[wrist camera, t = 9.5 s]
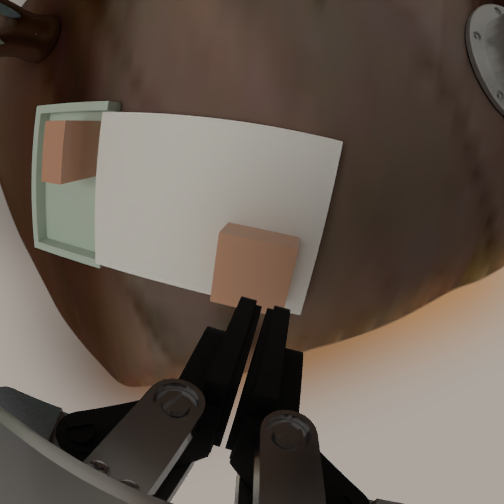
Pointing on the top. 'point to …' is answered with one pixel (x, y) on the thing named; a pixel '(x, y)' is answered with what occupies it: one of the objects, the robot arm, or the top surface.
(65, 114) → the tray
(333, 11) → the top surface
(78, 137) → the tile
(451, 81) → the top surface
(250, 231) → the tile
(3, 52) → the beer glass
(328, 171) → the white slab
